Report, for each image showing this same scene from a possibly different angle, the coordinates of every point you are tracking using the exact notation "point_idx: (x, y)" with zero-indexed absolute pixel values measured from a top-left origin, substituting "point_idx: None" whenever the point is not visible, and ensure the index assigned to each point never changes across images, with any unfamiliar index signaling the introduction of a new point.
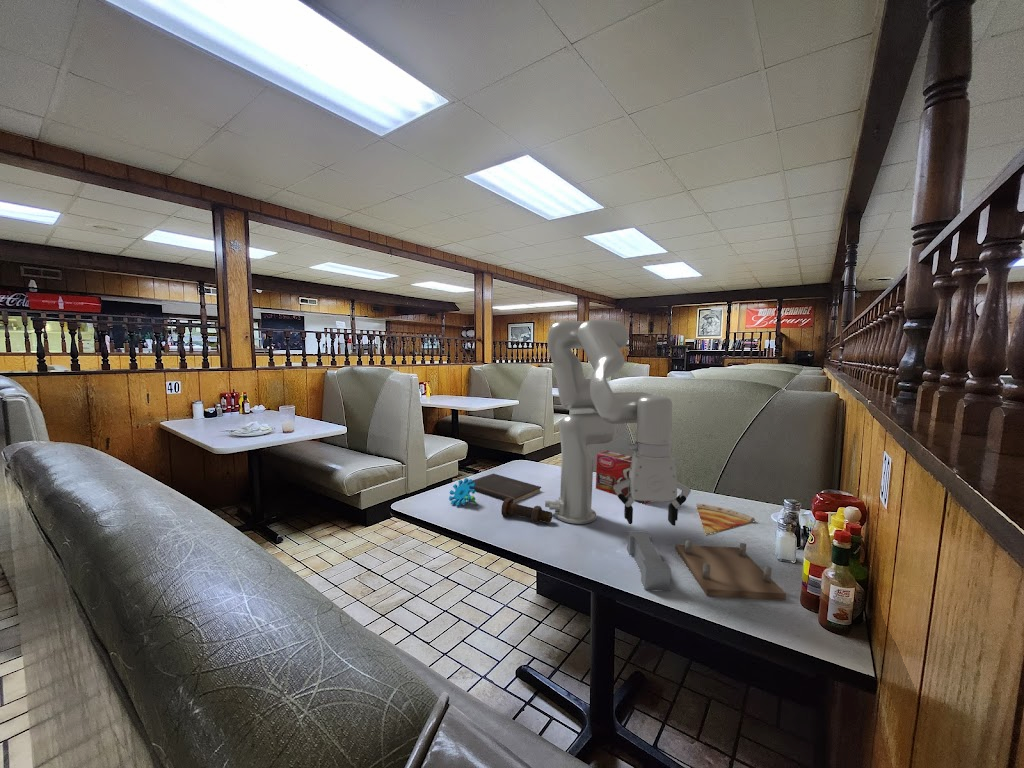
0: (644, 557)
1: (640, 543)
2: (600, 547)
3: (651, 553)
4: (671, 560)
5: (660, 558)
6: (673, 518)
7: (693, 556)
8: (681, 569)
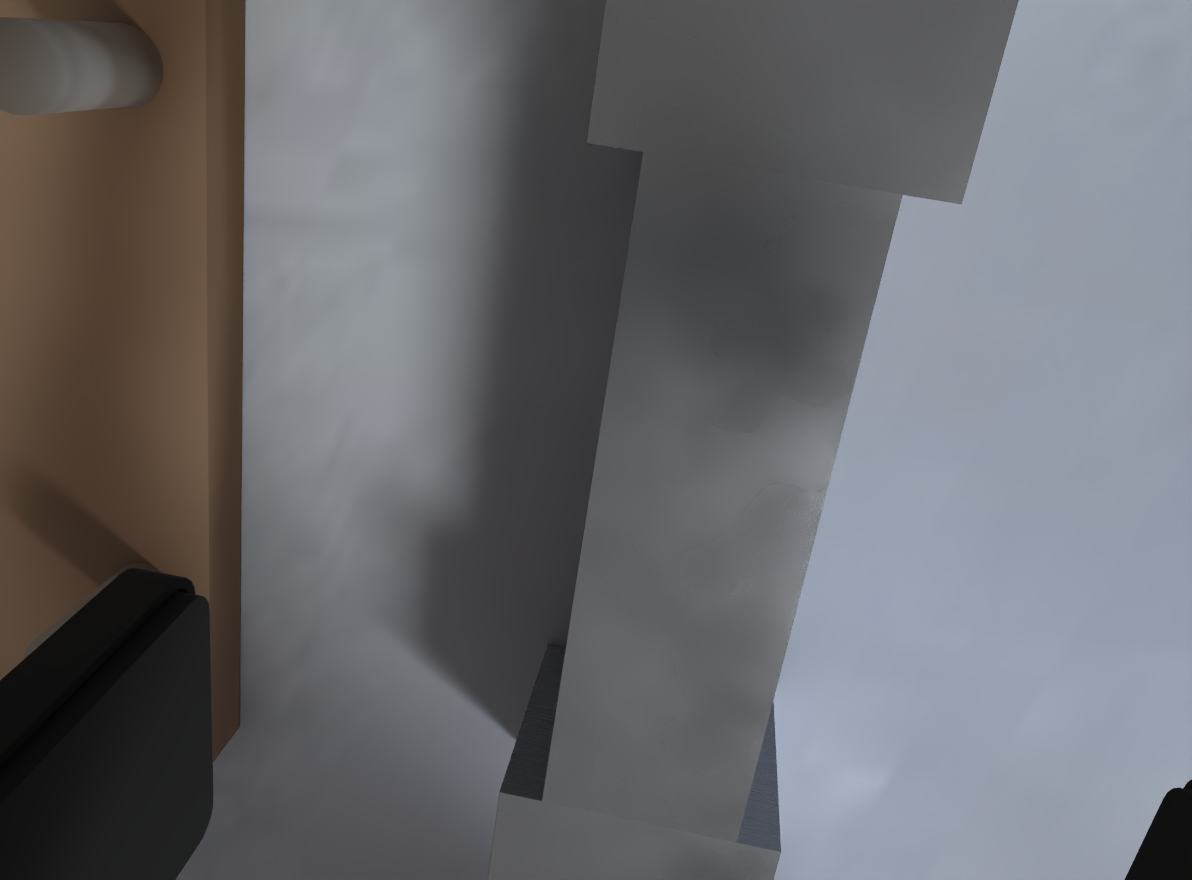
0: (876, 288)
1: (733, 669)
2: (1022, 870)
3: (704, 395)
4: (357, 553)
5: (634, 240)
6: (77, 671)
7: (109, 523)
8: (320, 378)
